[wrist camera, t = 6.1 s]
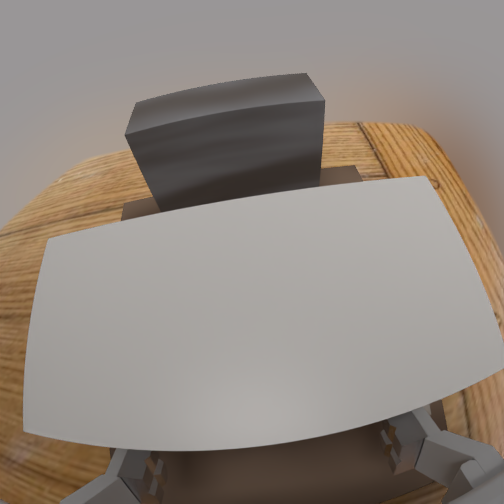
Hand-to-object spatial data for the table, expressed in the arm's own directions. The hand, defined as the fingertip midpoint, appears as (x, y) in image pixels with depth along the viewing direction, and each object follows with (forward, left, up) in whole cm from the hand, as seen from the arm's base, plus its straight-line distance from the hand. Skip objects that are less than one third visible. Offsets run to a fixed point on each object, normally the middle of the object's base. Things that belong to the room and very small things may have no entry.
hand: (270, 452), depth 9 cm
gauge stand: (-4, +5, -6) cm, 9 cm away
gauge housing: (-3, +4, -4) cm, 6 cm away
